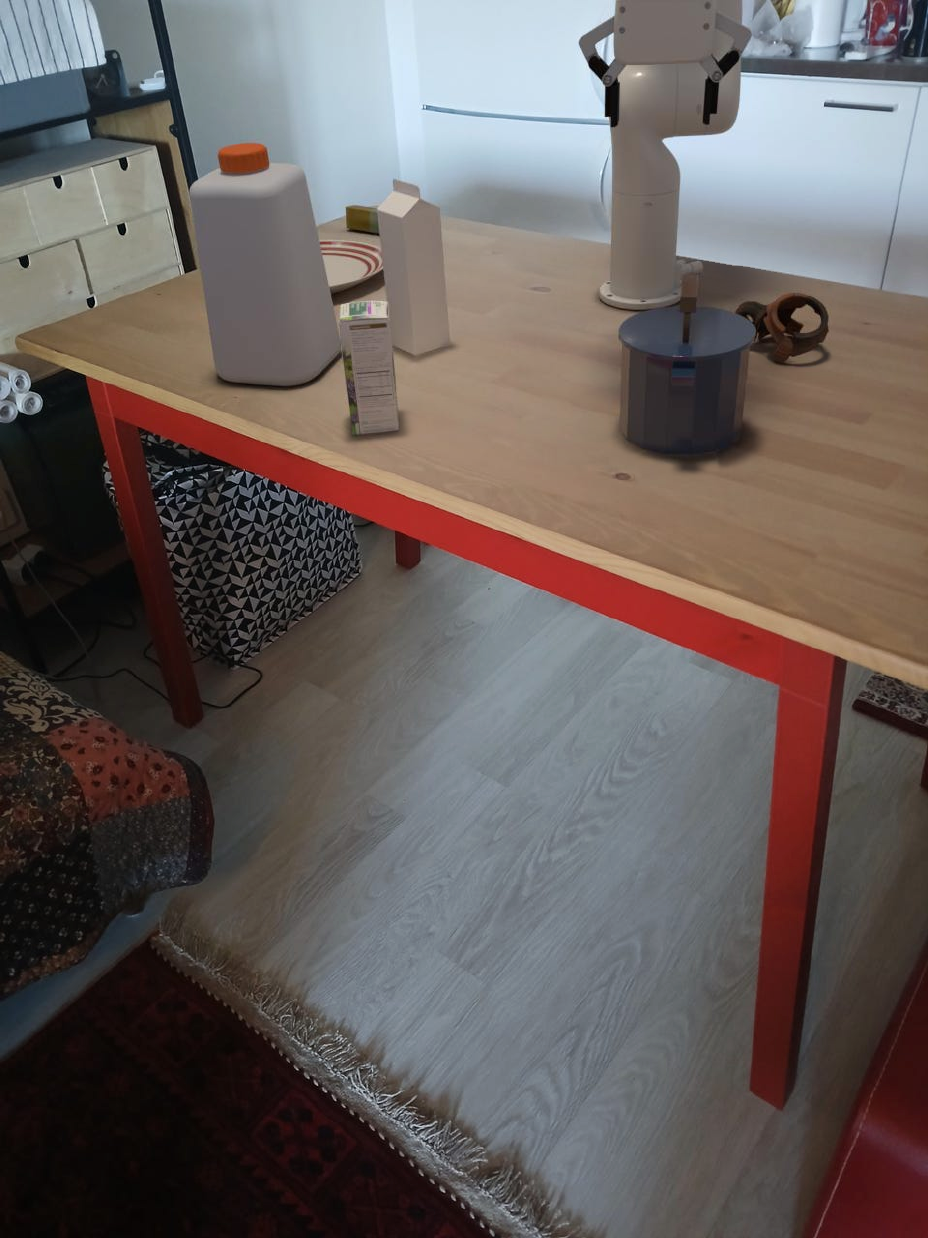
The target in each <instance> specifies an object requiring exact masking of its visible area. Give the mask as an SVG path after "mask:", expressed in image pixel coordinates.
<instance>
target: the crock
mask: <svg viewBox="0 0 928 1238" xmlns="http://www.w3.org/2000/svg"><path fill="white" fill-rule="evenodd" d="M750 351H751V346H750V347H748V348H747V349H745V350H744V351H742V352H740V353H737V354H735V355H732V356H729V357H725V358H721V359H715V360H708V361H696V362H679V361H666V360H660V359H654V358H650V357H646V356H643V355H640V354H637V353H635V352H633V351H631V350H629V349H627V348H626V347H625V346H624V345H623V344H622V343H621V363H620V365H621V367H620V368H621V369H620V405H619V431H620V433H621V434H622V435H623V437H624V439H626V441H627V442H629V443H631V444H633V445H635V446H638V447H639V448H640V449H643V450H647V451H652V452H657V453H661V454H665V455H686V456H688V455H689V456H691V455H696V454H703V453H708V452H709V453H710V452H715V451H717V454H720V453H723V452H724V451H727V450H728V449H730V448H731V447H733V446H734V445H735V444H736V443H737V442H738V440H739V439H740V437H741V434H742V428H743V427H742V426H743V417H744V408H745V398H746V389H747V380H748V379H747V378H748V371H749V362H750V361H749V360H750V354H751V353H750Z"/></svg>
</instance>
